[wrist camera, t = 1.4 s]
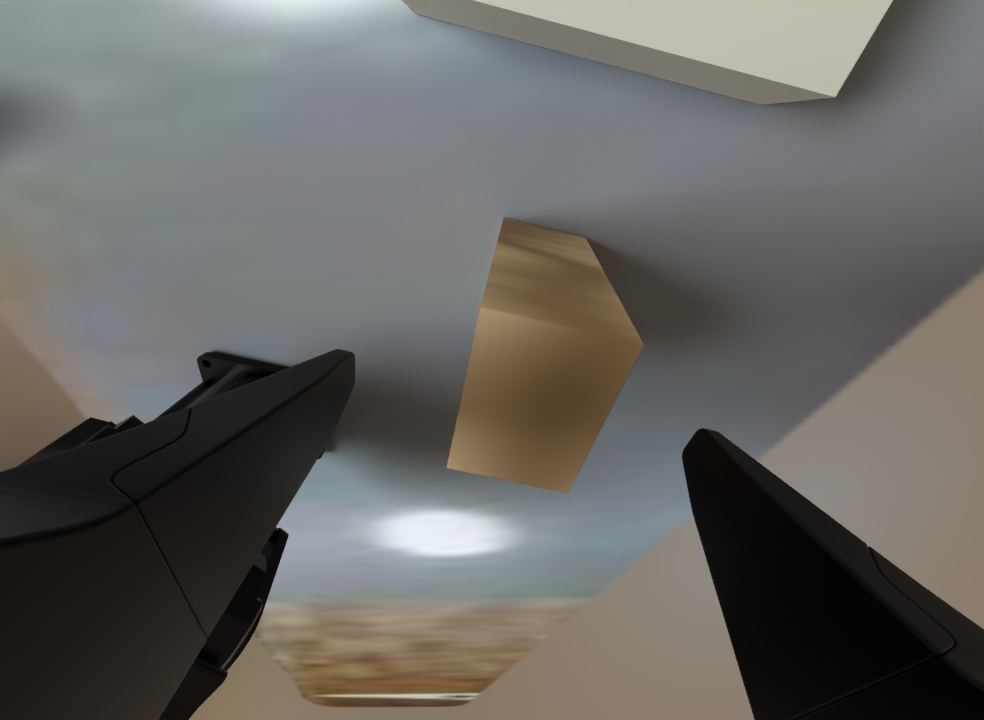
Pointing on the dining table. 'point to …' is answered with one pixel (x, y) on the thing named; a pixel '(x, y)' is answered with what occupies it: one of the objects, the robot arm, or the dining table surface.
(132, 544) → the robot arm
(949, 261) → the dining table surface
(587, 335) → the wooden bar
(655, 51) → the well block
